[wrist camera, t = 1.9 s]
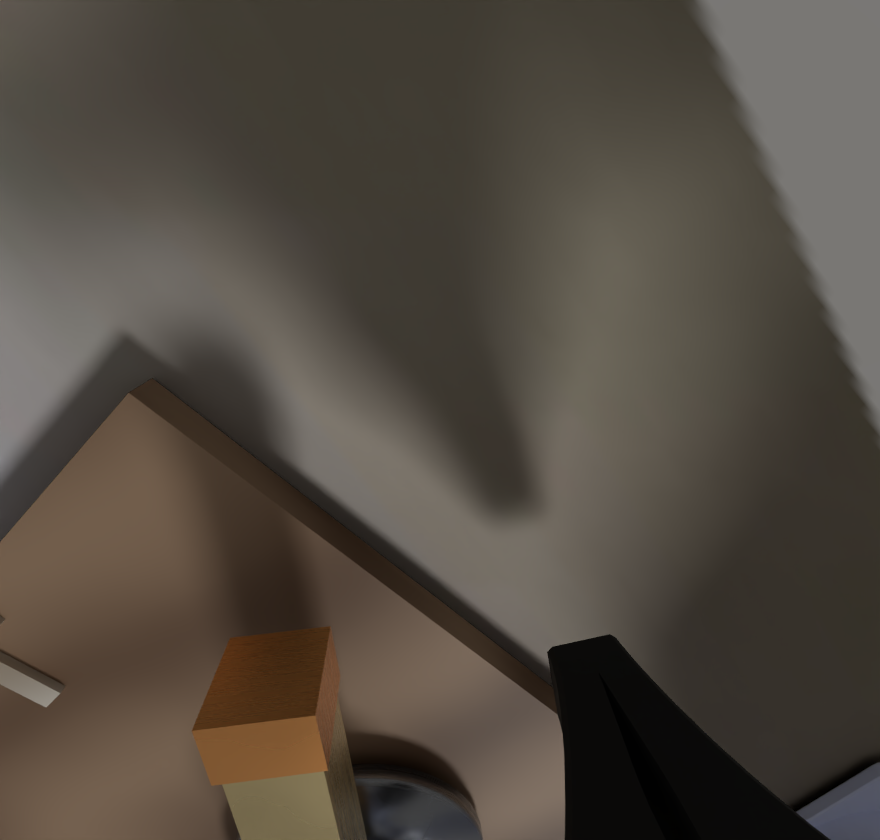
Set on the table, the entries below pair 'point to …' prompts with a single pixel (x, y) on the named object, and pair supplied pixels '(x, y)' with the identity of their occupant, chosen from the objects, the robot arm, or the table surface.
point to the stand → (207, 634)
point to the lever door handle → (309, 753)
